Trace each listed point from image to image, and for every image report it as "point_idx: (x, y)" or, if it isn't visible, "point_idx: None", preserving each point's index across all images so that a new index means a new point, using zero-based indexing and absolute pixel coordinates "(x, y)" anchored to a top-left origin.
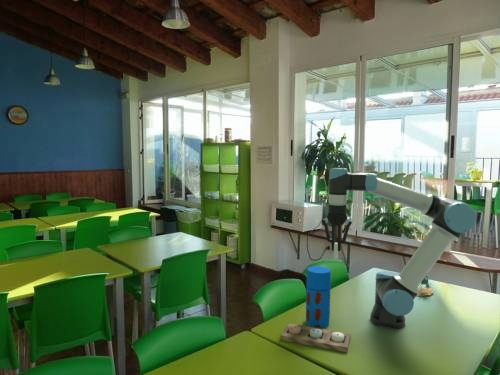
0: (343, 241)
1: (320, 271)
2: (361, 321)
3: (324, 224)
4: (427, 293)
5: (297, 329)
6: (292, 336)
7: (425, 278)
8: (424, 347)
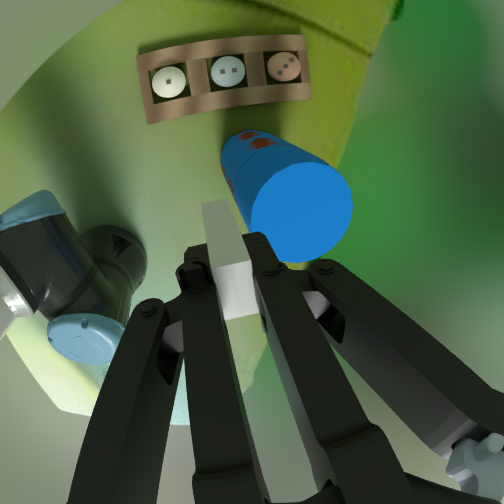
0: (145, 308)
1: (291, 193)
2: (156, 225)
3: (492, 399)
4: None
5: (275, 58)
6: (276, 38)
7: None
8: (21, 189)
